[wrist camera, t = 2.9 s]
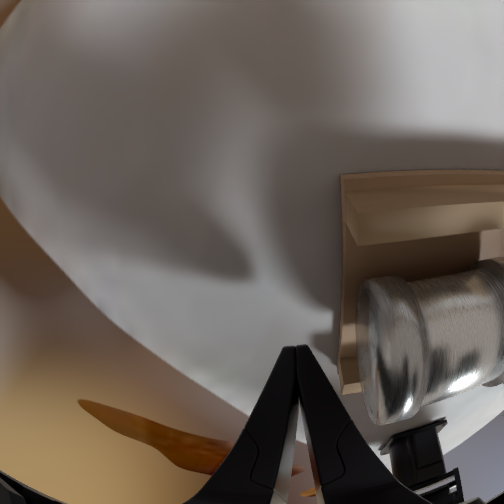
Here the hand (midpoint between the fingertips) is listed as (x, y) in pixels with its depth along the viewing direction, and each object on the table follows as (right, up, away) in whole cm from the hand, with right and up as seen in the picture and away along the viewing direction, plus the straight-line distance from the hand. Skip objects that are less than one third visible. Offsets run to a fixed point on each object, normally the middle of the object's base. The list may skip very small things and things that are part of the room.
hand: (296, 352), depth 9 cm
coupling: (+5, +2, +1) cm, 6 cm away
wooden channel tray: (+11, +3, 0) cm, 11 cm away
